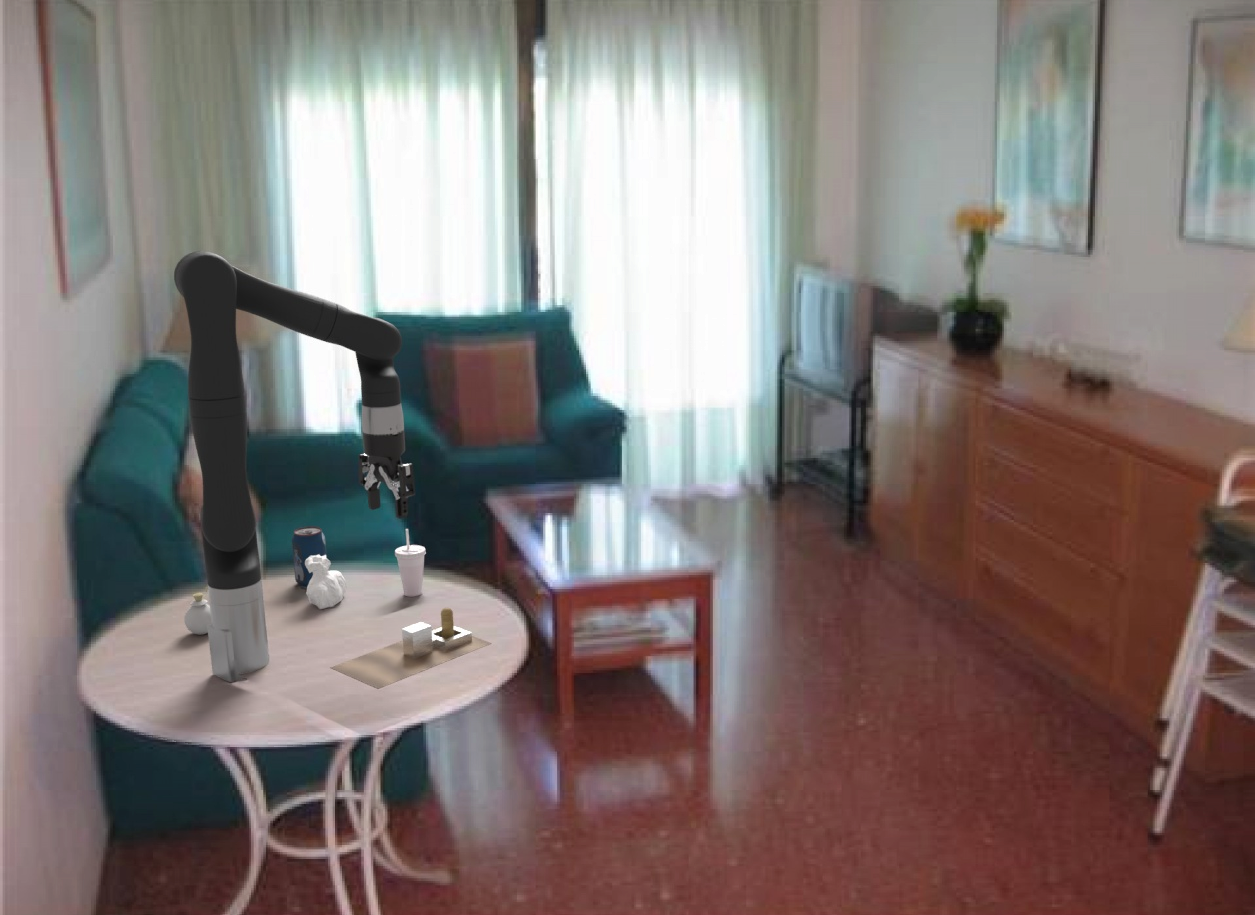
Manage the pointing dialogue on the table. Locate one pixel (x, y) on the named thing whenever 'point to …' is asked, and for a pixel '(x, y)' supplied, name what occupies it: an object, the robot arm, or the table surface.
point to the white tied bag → (324, 583)
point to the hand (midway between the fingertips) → (388, 513)
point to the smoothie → (411, 567)
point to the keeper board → (404, 658)
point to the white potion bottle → (198, 615)
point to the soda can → (306, 551)
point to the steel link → (430, 639)
